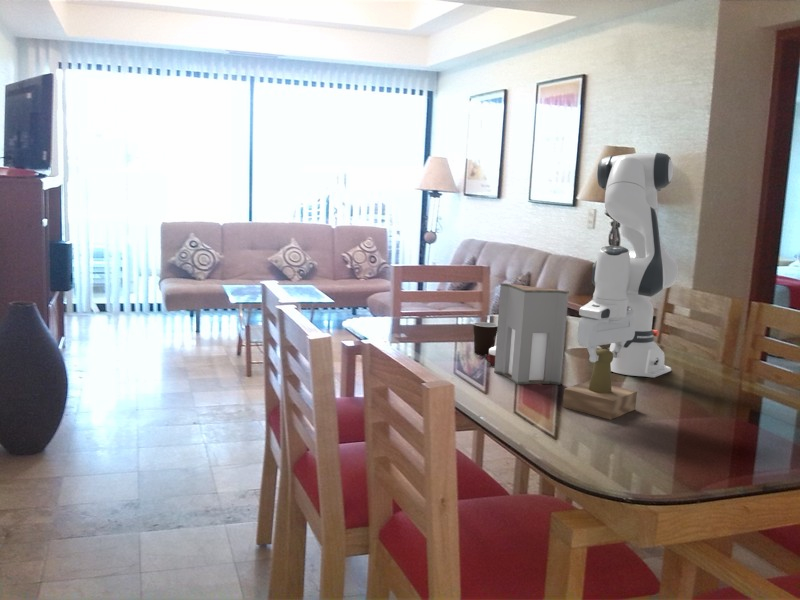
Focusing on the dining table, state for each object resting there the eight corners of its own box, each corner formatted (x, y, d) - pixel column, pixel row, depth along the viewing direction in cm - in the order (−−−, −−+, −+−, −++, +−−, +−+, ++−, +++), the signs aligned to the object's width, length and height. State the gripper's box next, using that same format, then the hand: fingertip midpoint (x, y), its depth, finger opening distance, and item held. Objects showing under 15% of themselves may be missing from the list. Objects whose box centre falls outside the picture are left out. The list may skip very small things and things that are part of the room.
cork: (583, 389, 203) (587, 349, 202) (595, 385, 208) (599, 346, 206) (604, 394, 199) (608, 353, 197) (615, 390, 203) (619, 350, 202)
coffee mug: (488, 357, 258) (490, 328, 256) (466, 352, 263) (468, 324, 261) (505, 351, 267) (507, 323, 265) (483, 347, 272) (485, 320, 270)
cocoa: (486, 367, 244) (488, 331, 242) (482, 362, 250) (483, 326, 248) (515, 367, 245) (517, 330, 243) (510, 361, 251) (512, 326, 249)
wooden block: (588, 397, 214) (589, 380, 213) (635, 409, 205) (637, 391, 204) (562, 406, 204) (564, 388, 203) (610, 419, 194) (612, 400, 194)
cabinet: (560, 383, 228) (568, 291, 223) (549, 390, 219) (557, 294, 215) (496, 371, 238) (502, 283, 234) (483, 377, 230) (489, 285, 225)
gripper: (623, 303, 209) (618, 352, 211) (575, 309, 196) (570, 361, 199) (643, 307, 204) (638, 357, 206) (595, 313, 191) (590, 367, 194)
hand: (604, 359), depth 202 cm, fingers open, 8 cm apart
